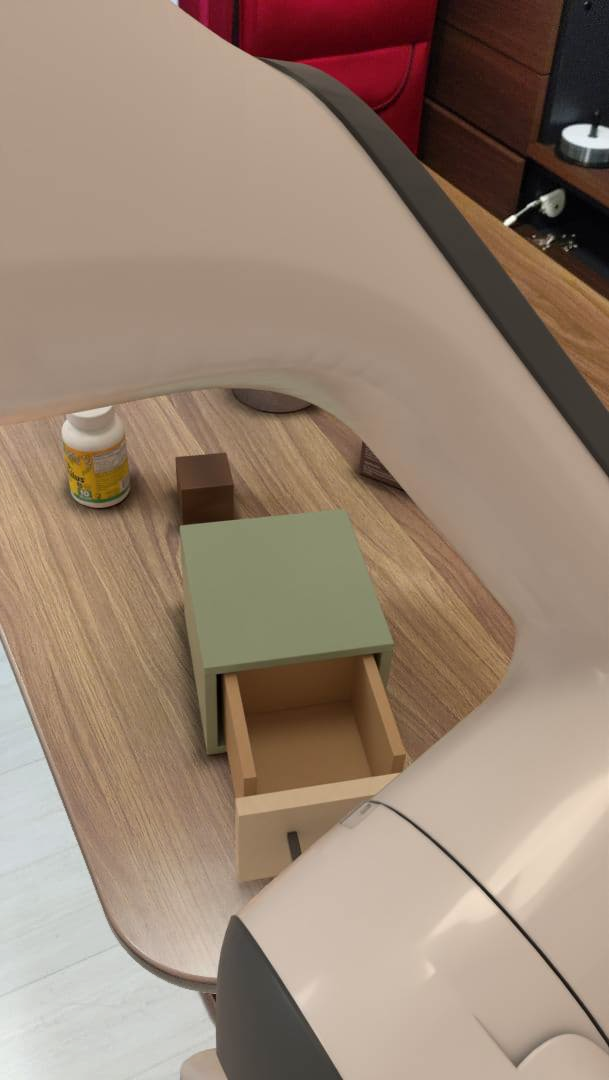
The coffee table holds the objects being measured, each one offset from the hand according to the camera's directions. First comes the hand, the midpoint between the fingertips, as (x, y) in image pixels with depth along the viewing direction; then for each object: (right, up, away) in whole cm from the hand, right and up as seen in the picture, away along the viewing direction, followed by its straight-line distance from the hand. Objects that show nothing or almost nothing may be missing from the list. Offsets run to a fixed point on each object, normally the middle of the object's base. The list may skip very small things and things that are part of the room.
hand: (385, 1023), depth 45 cm
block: (-13, +25, +42) cm, 51 cm away
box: (+5, +29, +48) cm, 56 cm away
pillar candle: (-6, +38, +57) cm, 69 cm away
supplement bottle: (-22, +27, +43) cm, 56 cm away
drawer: (-3, +4, +19) cm, 20 cm away
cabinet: (-6, +13, +29) cm, 32 cm away
